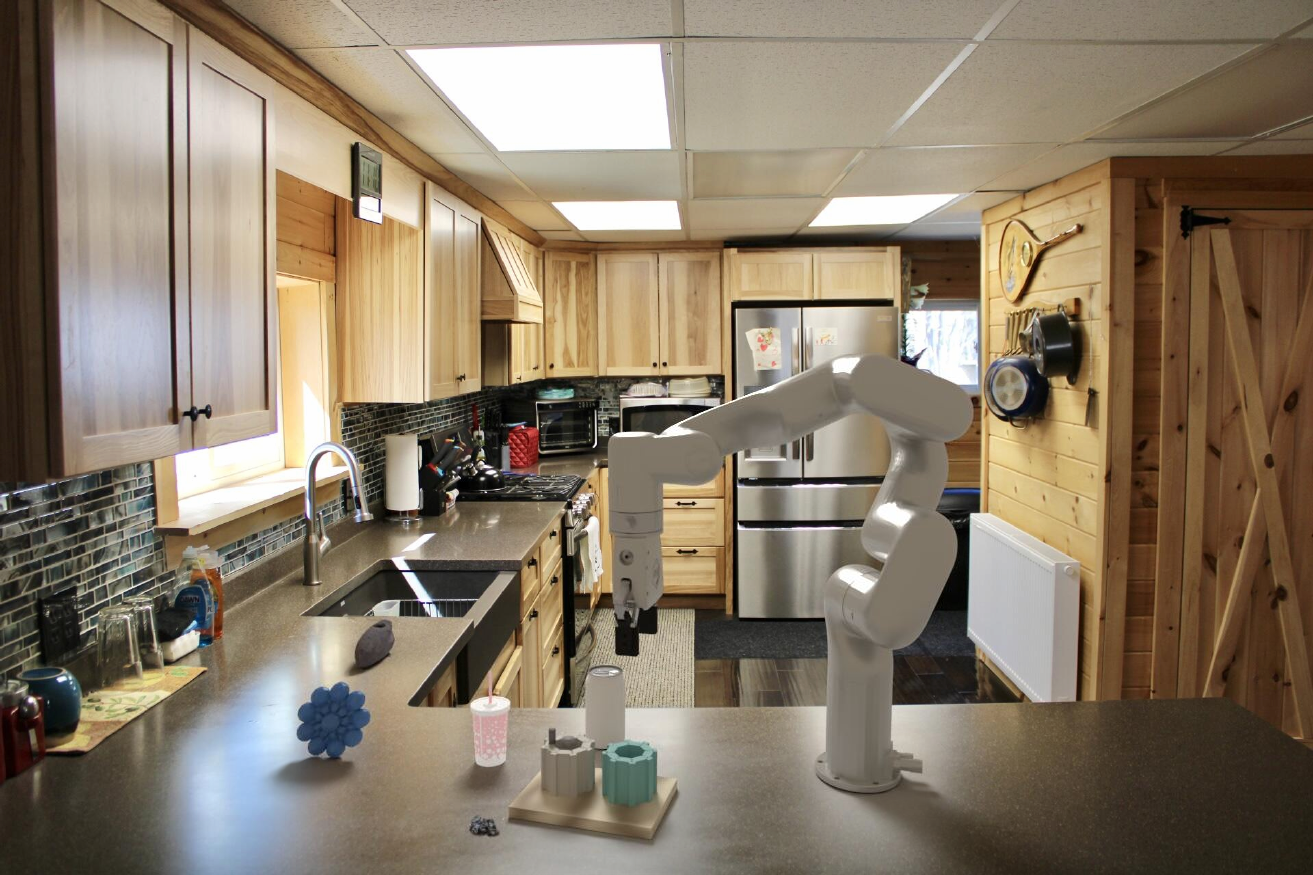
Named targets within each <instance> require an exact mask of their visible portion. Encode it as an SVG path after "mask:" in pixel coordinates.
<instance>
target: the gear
mask: <svg viewBox="0 0 1313 875" xmlns="http://www.w3.org/2000/svg"><path fill="white" fill-rule="evenodd" d="M556 731H557V730H556V727H550V728H548V736H547V737H545V738H544V740H543V742H544V743H543V745H541V746H540V770H541V788H542V790H545V789H546V790H548V791H549V792H550V796H554V797H556V796H558V795H559V796H570V798H573V797H577V795H578V794H580V793H583V792H590V791H591V790H593V783H595V768H596V749H595V741H594V739H592V740H590V739H588V738H586V736H585V734H584V733H578V734H572V733H569V734H568V733H567V732H560V733H559V734H558V735H556V734H557V732H556Z"/></svg>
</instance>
